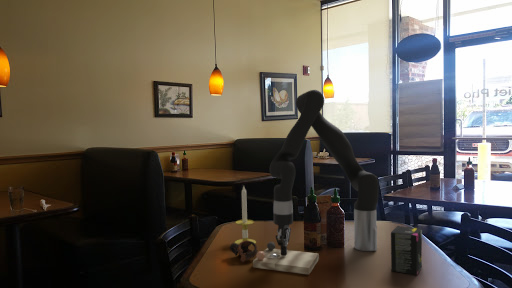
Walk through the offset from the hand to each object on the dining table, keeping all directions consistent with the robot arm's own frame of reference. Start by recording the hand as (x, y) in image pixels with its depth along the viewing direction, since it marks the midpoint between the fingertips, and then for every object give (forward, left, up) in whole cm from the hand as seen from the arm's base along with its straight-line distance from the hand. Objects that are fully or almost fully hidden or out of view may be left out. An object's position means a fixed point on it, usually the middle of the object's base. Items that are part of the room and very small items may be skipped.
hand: (284, 254), depth 153 cm
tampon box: (-45, -9, -4) cm, 46 cm away
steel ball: (+4, 0, -2) cm, 5 cm away
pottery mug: (+18, 0, -4) cm, 18 cm away
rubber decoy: (+7, -6, +1) cm, 10 cm away
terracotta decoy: (+7, +6, +1) cm, 10 cm away
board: (-1, 0, -3) cm, 3 cm away
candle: (+25, -19, -4) cm, 32 cm away
